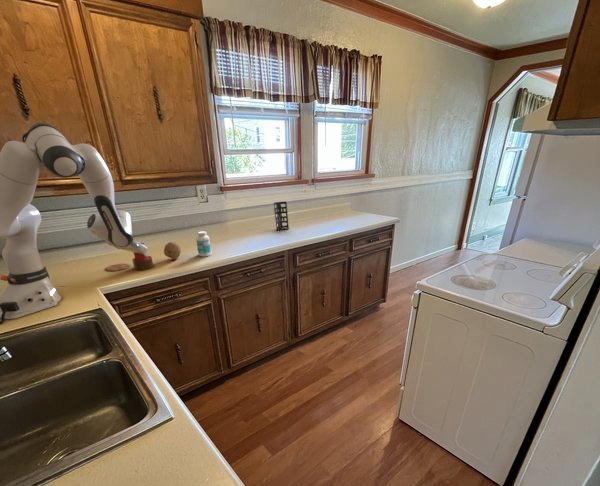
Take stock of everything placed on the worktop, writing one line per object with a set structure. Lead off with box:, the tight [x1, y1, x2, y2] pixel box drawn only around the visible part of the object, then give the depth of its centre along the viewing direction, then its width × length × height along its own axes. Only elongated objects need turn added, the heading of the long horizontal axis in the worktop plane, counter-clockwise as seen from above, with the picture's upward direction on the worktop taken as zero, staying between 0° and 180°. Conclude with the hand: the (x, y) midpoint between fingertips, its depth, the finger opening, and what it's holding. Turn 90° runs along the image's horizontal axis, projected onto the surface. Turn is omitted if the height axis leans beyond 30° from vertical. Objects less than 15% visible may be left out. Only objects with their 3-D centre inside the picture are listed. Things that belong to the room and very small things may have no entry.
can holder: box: [131, 255, 155, 271], centre depth 174 cm, size 9×9×5 cm
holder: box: [273, 201, 289, 231], centre depth 249 cm, size 11×8×20 cm
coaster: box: [105, 263, 130, 272], centre depth 175 cm, size 11×11×1 cm
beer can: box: [133, 242, 150, 261], centre depth 172 cm, size 7×7×12 cm
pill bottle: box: [195, 230, 212, 257], centre depth 191 cm, size 8×7×14 cm
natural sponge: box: [163, 241, 182, 260], centre depth 184 cm, size 9×9×10 cm
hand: (142, 254), depth 172 cm, fingers closed on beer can, 6 cm apart
